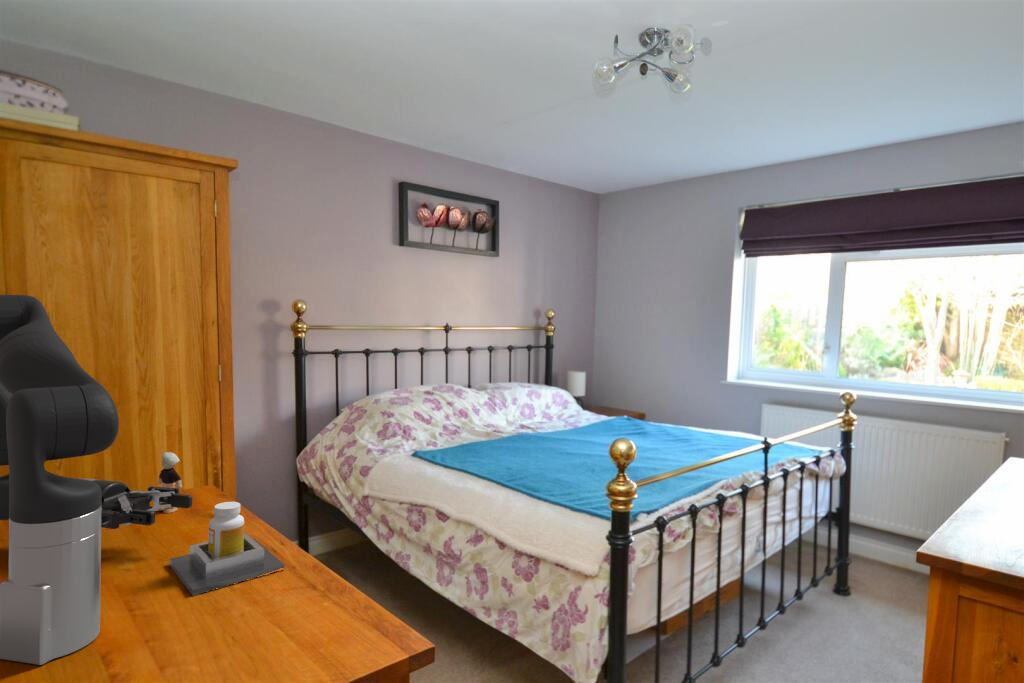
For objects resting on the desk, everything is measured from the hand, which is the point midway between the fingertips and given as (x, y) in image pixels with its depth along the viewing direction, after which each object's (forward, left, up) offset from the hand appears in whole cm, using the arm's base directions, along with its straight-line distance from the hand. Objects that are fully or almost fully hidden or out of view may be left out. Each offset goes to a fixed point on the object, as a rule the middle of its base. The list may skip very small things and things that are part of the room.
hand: (173, 509), depth 96 cm
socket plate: (0, -10, -9) cm, 14 cm away
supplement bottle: (0, -10, -8) cm, 13 cm away
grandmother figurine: (+21, +19, -9) cm, 29 cm away
